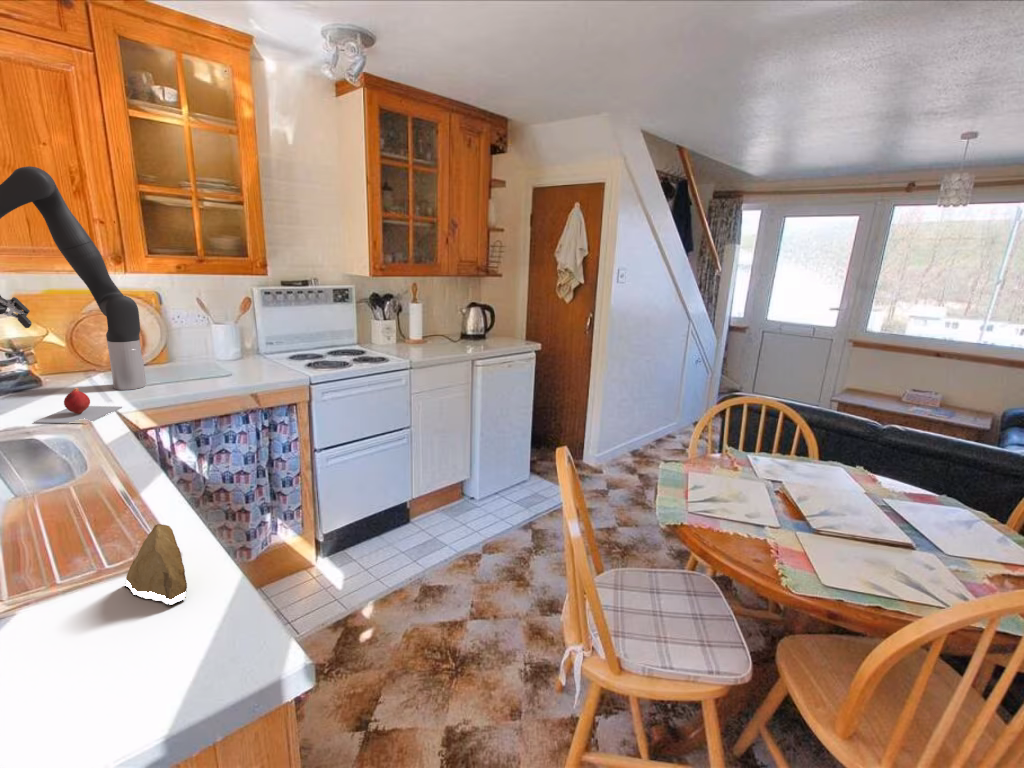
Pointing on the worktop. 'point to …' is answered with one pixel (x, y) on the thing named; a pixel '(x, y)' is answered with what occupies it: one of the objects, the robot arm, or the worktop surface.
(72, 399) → the onion
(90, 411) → the mat
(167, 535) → the rock
